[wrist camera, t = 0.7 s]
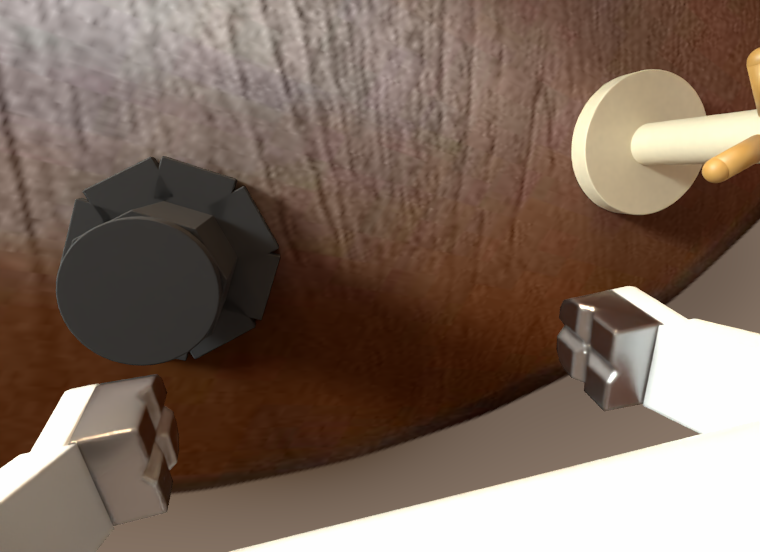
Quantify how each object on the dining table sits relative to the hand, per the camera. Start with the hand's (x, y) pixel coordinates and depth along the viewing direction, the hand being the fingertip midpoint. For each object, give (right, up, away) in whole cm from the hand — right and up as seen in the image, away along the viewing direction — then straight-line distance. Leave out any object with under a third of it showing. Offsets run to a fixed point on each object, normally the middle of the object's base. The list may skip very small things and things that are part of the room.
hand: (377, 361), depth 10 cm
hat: (-12, +3, +18) cm, 22 cm away
